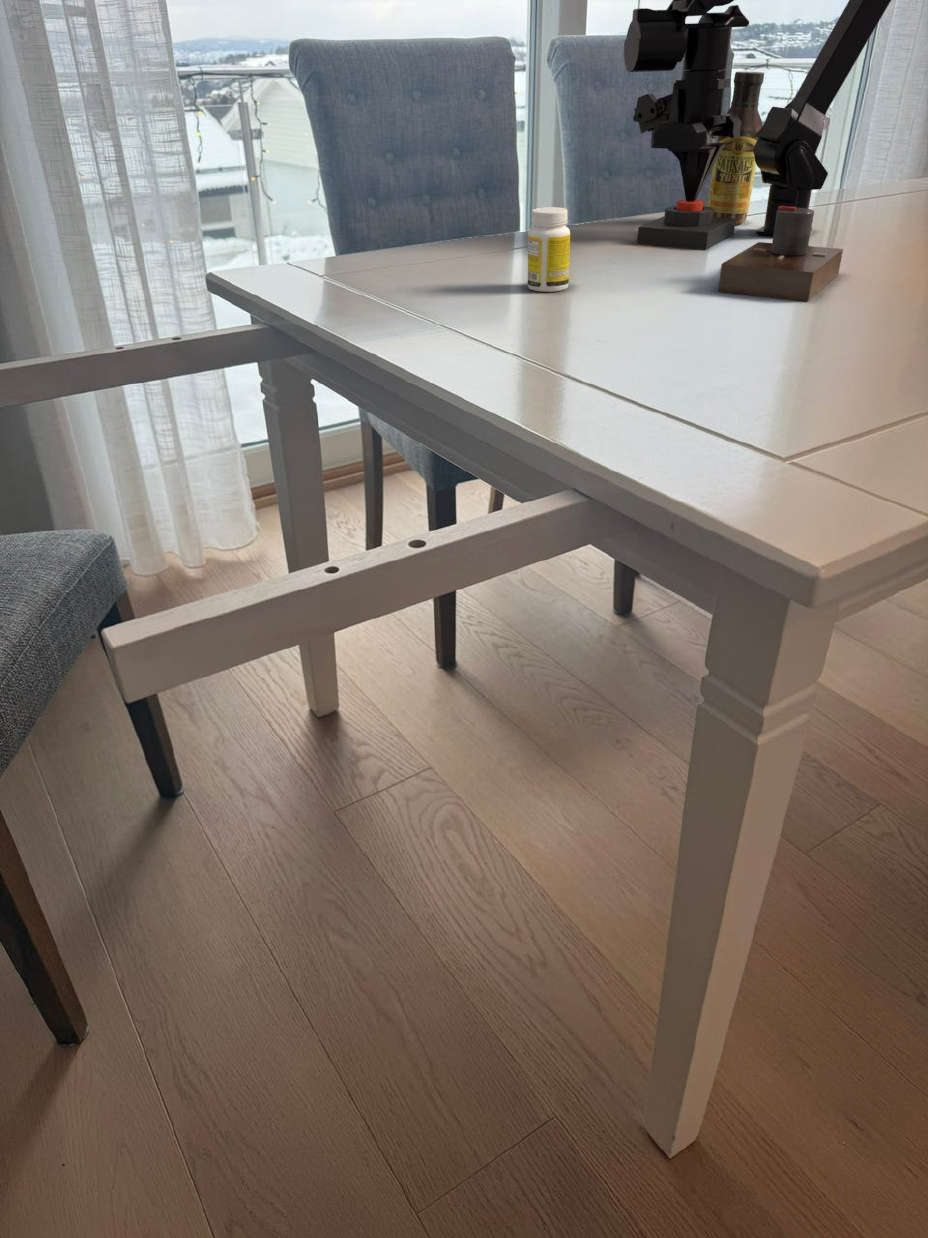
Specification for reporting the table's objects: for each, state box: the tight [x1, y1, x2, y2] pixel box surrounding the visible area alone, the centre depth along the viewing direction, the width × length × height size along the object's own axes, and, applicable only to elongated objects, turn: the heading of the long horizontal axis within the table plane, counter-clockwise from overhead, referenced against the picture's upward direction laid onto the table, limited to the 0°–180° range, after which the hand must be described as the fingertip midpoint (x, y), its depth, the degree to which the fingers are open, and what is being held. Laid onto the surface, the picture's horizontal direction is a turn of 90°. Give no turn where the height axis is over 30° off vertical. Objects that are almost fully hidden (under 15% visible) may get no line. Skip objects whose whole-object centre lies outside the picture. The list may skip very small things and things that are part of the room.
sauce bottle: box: [706, 71, 765, 226], centre depth 133 cm, size 7×6×20 cm
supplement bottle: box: [527, 206, 571, 293], centre depth 103 cm, size 5×5×8 cm
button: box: [675, 198, 704, 211], centre depth 126 cm, size 4×4×2 cm
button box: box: [636, 205, 736, 251], centre depth 127 cm, size 12×10×4 cm
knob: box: [771, 206, 815, 256], centre depth 103 cm, size 4×4×5 cm
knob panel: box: [717, 241, 844, 302], centre depth 104 cm, size 14×10×3 cm
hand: (690, 201), depth 125 cm, fingers closed, pressing on button
